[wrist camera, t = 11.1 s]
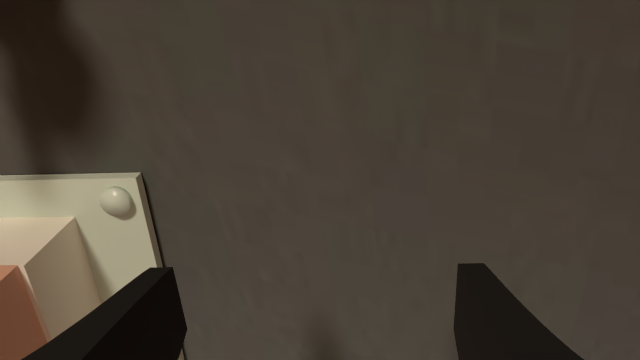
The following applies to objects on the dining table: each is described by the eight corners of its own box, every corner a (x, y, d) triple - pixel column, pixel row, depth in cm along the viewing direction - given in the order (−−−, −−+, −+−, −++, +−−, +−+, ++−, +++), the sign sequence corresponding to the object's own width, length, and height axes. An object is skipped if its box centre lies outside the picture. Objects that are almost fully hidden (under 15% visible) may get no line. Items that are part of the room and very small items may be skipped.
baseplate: (185, 362, 28) (179, 376, 27) (-11, 359, 29) (-23, 373, 28) (140, 172, 23) (132, 181, 22) (-96, 177, 24) (-113, 186, 23)
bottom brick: (113, 343, 27) (76, 404, 24) (28, 342, 28) (-22, 401, 24) (74, 216, 24) (23, 265, 20) (-23, 218, 24) (-89, 266, 21)
